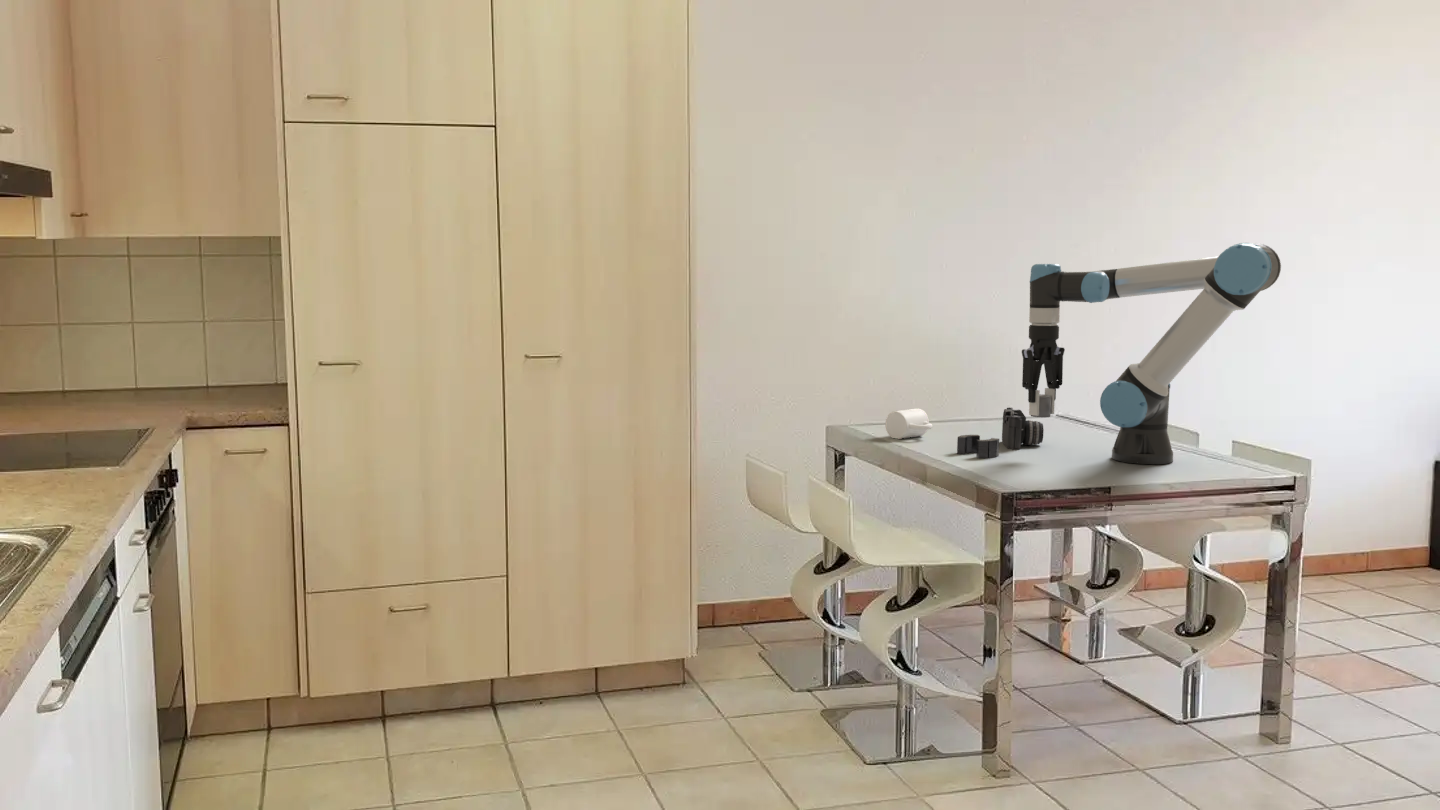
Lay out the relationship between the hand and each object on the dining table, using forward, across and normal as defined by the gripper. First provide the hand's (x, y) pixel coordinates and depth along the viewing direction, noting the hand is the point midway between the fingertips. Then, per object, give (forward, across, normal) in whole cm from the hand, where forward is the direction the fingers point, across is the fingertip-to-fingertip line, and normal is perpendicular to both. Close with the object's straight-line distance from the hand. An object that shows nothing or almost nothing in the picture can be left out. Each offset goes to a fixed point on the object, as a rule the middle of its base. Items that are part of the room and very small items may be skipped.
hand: (1041, 414), depth 343 cm
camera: (+12, -11, -17) cm, 23 cm away
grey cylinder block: (+1, 0, 0) cm, 1 cm away
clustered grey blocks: (+11, +10, -12) cm, 20 cm away
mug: (+11, +6, -42) cm, 44 cm away
